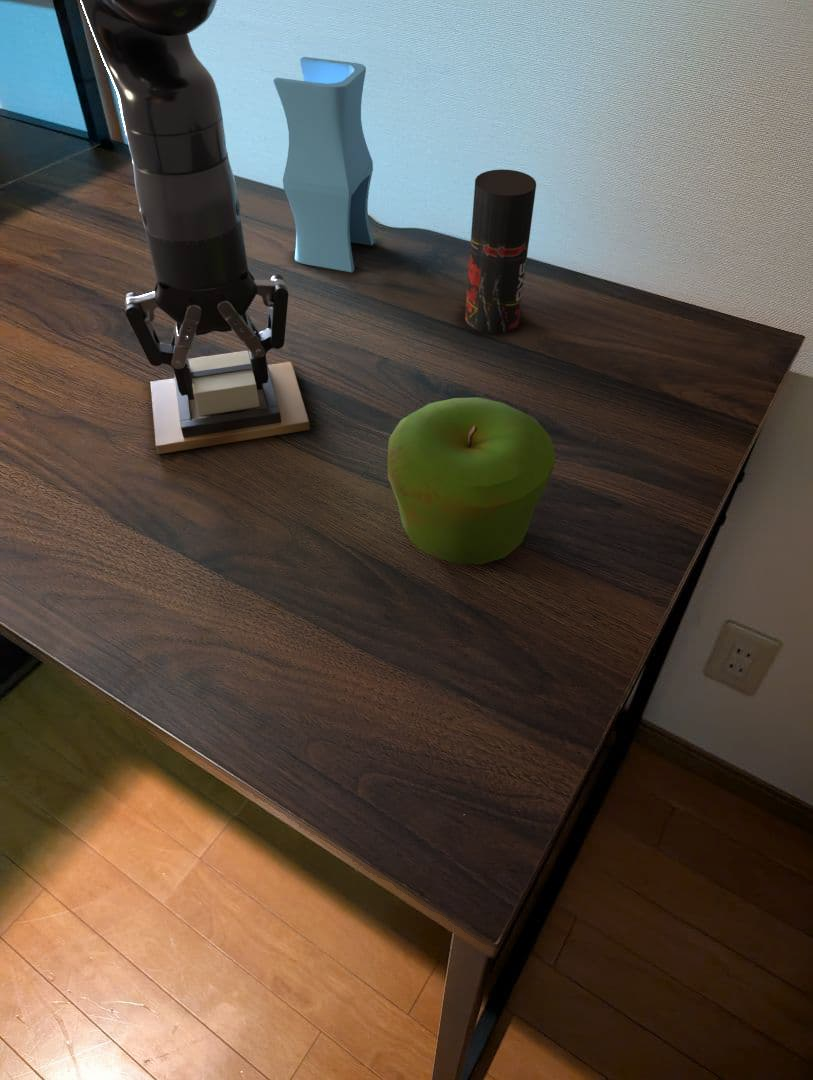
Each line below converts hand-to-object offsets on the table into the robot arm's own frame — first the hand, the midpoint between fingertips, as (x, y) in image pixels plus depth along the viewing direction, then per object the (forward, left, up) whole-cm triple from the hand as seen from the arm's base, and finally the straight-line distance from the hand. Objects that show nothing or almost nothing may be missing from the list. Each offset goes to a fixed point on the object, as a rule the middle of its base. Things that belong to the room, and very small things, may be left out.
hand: (224, 389), depth 75 cm
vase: (+16, +28, -3) cm, 32 cm away
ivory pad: (0, 0, -1) cm, 1 cm away
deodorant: (+30, +9, -3) cm, 31 cm away
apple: (+17, -21, -3) cm, 27 cm away
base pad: (0, 0, -2) cm, 2 cm away
